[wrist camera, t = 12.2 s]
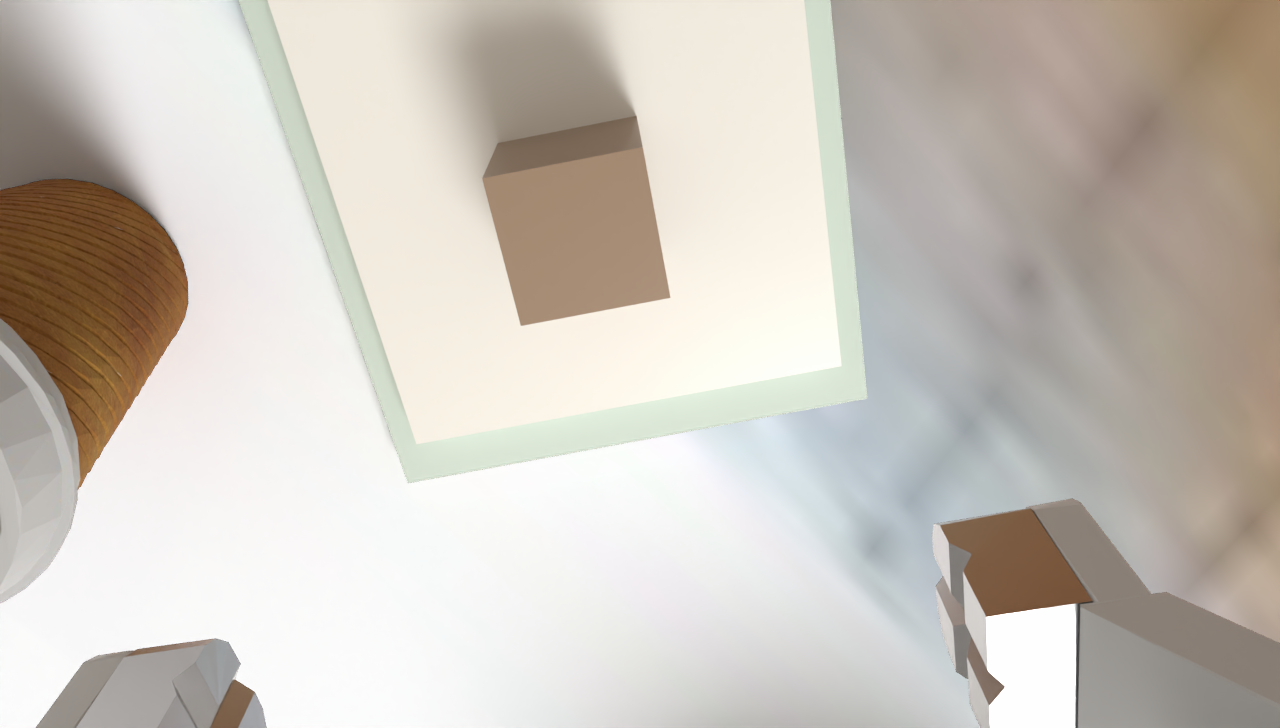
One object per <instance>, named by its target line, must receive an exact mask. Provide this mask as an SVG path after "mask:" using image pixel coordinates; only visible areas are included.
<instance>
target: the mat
mask: <svg viewBox="0 0 1280 728" xmlns="http://www.w3.org/2000/svg"><path fill="white" fill-rule="evenodd" d="M238 1H239V3H240V6H241V9H242V12H243V15H244V18H245V20H246V23H247V26H248V29H249V32H250V35H251V38H252V40H253V43H254V46H255V49H256V52H257V55H258V58H259V60H260V63H261V66H262V69H263V72H264V75H265V77H266V80H267V83H268V86H269V89H270V92H271V95H272V97H273V100H274V103H275V106H276V109H277V112H278V115H279V117H280V120H281V123H282V126H283V129H284V132H285V134H286V137H287V140H288V143H289V146H290V149H291V152H292V154H293V157H294V160H295V163H296V166H297V169H298V172H299V174H300V177H301V180H302V183H303V186H304V189H305V191H306V194H307V197H308V200H309V203H310V206H311V209H312V211H313V214H314V217H315V220H316V223H317V226H318V229H319V231H320V234H321V237H322V240H323V243H324V246H325V248H326V251H327V254H328V257H329V260H330V263H331V266H332V268H333V271H334V274H335V277H336V280H337V283H338V285H339V288H340V291H341V294H342V297H343V300H344V303H345V305H346V308H347V311H348V314H349V317H350V320H351V323H352V325H353V328H354V331H355V334H356V337H357V340H358V342H359V345H360V348H361V351H362V354H363V357H364V360H365V362H366V365H367V368H368V371H369V374H370V377H371V380H372V382H373V385H374V388H375V391H376V394H377V397H378V399H379V402H380V405H381V408H382V411H383V414H384V417H385V419H386V422H387V425H388V428H389V431H390V434H391V437H392V439H393V442H394V445H395V448H396V451H397V454H398V456H399V459H400V462H401V465H402V468H403V471H404V474H405V476H406V479H407V482H408V483H412V482H418V481H423V480H429V479H434V478H440V477H445V476H450V475H456V474H461V473H467V472H472V471H477V470H483V469H488V468H494V467H499V466H505V465H510V464H515V463H521V462H526V461H532V460H537V459H542V458H548V457H553V456H559V455H564V454H570V453H575V452H580V451H586V450H591V449H597V448H602V447H607V446H613V445H618V444H624V443H629V442H635V441H640V440H645V439H651V438H656V437H662V436H667V435H673V434H678V433H683V432H689V431H694V430H700V429H705V428H710V427H716V426H721V425H727V424H732V423H738V422H743V421H748V420H754V419H759V418H765V417H770V416H775V415H781V414H786V413H792V412H797V411H803V410H808V409H813V408H819V407H824V406H830V405H835V404H841V403H846V402H851V401H857V400H862V399H867V390H866V379H865V368H864V357H863V347H862V336H861V325H860V315H859V304H858V293H857V282H856V272H855V261H854V250H853V239H852V229H851V218H850V207H849V196H848V186H847V175H846V164H845V154H844V143H843V132H842V121H841V111H840V100H839V89H838V78H837V68H836V57H835V46H834V35H833V25H832V14H831V3H830V0H804V3H805V13H806V23H807V33H808V42H809V52H810V62H811V72H812V82H813V91H814V101H815V111H816V121H817V131H818V140H819V150H820V160H821V170H822V180H823V189H824V199H825V209H826V219H827V229H828V238H829V248H830V258H831V268H832V278H833V287H834V297H835V307H836V317H837V327H838V336H839V346H840V356H841V366H839V367H834V368H829V369H823V370H818V371H812V372H807V373H801V374H796V375H790V376H785V377H780V378H774V379H769V380H763V381H758V382H752V383H747V384H742V385H736V386H731V387H725V388H720V389H714V390H709V391H703V392H698V393H693V394H687V395H682V396H676V397H671V398H665V399H660V400H655V401H649V402H644V403H638V404H633V405H627V406H622V407H616V408H611V409H606V410H600V411H595V412H589V413H584V414H578V415H573V416H568V417H562V418H557V419H551V420H546V421H540V422H535V423H530V424H524V425H519V426H513V427H508V428H502V429H497V430H491V431H486V432H481V433H475V434H470V435H464V436H459V437H453V438H448V439H443V440H437V441H432V442H426V443H421V444H416V441H415V438H414V435H413V432H412V430H411V427H410V424H409V421H408V418H407V415H406V412H405V409H404V406H403V403H402V400H401V397H400V394H399V391H398V388H397V385H396V382H395V379H394V376H393V373H392V370H391V367H390V364H389V361H388V358H387V355H386V352H385V349H384V346H383V343H382V340H381V337H380V334H379V331H378V328H377V325H376V322H375V319H374V316H373V313H372V310H371V307H370V304H369V301H368V298H367V296H366V293H365V290H364V287H363V284H362V281H361V278H360V275H359V272H358V269H357V266H356V263H355V260H354V257H353V254H352V251H351V248H350V245H349V242H348V239H347V236H346V233H345V230H344V227H343V224H342V221H341V218H340V215H339V212H338V209H337V206H336V203H335V200H334V197H333V194H332V191H331V188H330V185H329V182H328V179H327V176H326V173H325V170H324V167H323V164H322V161H321V159H320V156H319V153H318V150H317V147H316V144H315V141H314V138H313V135H312V132H311V129H310V126H309V123H308V120H307V117H306V114H305V111H304V108H303V105H302V102H301V99H300V96H299V93H298V90H297V87H296V84H295V81H294V78H293V75H292V72H291V69H290V66H289V63H288V60H287V57H286V54H285V51H284V48H283V45H282V42H281V39H280V36H279V33H278V30H277V27H276V25H275V22H274V19H273V16H272V13H271V10H270V7H269V4H268V1H267V0H238Z"/></svg>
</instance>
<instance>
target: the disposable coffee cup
mask: <svg viewBox="0 0 1280 728" xmlns="http://www.w3.org/2000/svg"><path fill="white" fill-rule="evenodd" d="M187 306H188V281H187V277H186V273H185V269H184V265H183V262H182V260H181V257H180V255H179V253H178V250H177V248H176V247H175V245H174V244H173V242H172V241H171V239H170V238H169V236H168V235H167V233H166V232H165V230H164V229H163V228H162V227H161V226H160V225H159V224H158V223H157V222H156V221H155V220H154V218H153V217H152V216H151V215H149V214H148V213H147V212H146V211H144V210H143V209H142V208H141V207H139V206H138V205H137V204H136V203H134V202H133V201H131V200H129V199H127V198H126V197H124V196H122V195H120V194H119V193H117V192H115V191H113V190H110V189H108V188H105V187H102V186H99V185H97V184H94V183H89V182H83V181H77V180H71V179H51V180H42V181H37V182H32V183H29V184H26V185H22V186H18V187H13V188H8V189H3V190H0V603H2V602H4V601H6V600H8V599H9V598H11V597H13V596H14V595H16V594H17V593H19V592H21V591H22V590H24V589H25V588H27V587H28V586H29V585H30V584H31V583H32V582H33V581H34V580H35V579H36V578H37V577H38V576H40V575H41V574H42V573H43V572H44V571H45V570H46V569H47V568H48V566H49V565H50V564H51V562H52V561H53V559H54V558H55V556H56V555H57V553H58V551H59V550H60V548H61V546H62V544H63V542H64V540H65V538H66V536H67V534H68V533H69V531H70V529H71V525H72V521H73V517H74V513H75V508H76V504H77V490H78V489H79V487H81V485H82V483H83V481H84V479H85V477H86V475H87V473H89V472H90V471H91V469H92V467H93V465H94V463H95V461H96V459H97V458H99V457H100V455H101V452H102V450H103V448H104V447H105V446H106V444H107V443H108V441H109V440H110V438H111V436H112V435H113V433H114V432H115V430H116V428H117V427H118V425H119V424H120V422H121V421H122V419H123V417H124V415H125V414H126V412H127V410H128V409H129V408H130V407H131V405H132V403H133V401H134V399H135V397H136V396H138V394H139V392H140V390H141V388H142V386H144V384H145V382H146V380H147V378H148V377H149V376H150V375H151V373H152V371H153V369H154V367H155V366H156V365H157V364H158V362H159V360H160V358H161V356H162V355H163V354H164V352H165V350H166V348H167V346H169V344H170V342H171V341H172V339H173V338H174V337H175V336H176V334H177V332H178V330H179V328H180V326H181V324H182V322H183V320H184V318H185V315H186V310H187Z"/></svg>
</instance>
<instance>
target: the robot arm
mask: <svg viewBox="0 0 1280 728" xmlns="http://www.w3.org/2000/svg"><path fill="white" fill-rule="evenodd" d="M932 540H933V554H934V557H935V559H936V561H937V563H938V565H939V568H940V570H941V572H942V574H943V576H942V578H941V579H940V581H939V582H938V583H937V585H936V597H937V607H938V614H939V619H940V624H941V629H942V634H943V637H944V640H945V644H946V647H947V650H948V653H949V655H950V658H951V660H952V663H953V665H954V668H955V670H956V672H957V673H959V674H960V675H962V676H964V677H965V678H967V679H968V683H969V698H970V705H971V708H972V710H973V712H974V714H975V717H976V719H977V721H978V724H979V726H980V728H1280V643H1279V642H1276V641H1274V640H1272V639H1270V638H1267V637H1265V636H1263V635H1261V634H1259V633H1256V632H1254V631H1252V630H1250V629H1247V628H1245V627H1243V626H1241V625H1238V624H1236V623H1234V622H1232V621H1230V620H1227V619H1225V618H1223V617H1221V616H1218V615H1216V614H1214V613H1212V612H1210V611H1207V610H1205V609H1203V608H1201V607H1198V606H1196V605H1194V604H1192V603H1190V602H1187V601H1185V600H1183V599H1181V598H1178V597H1176V596H1174V595H1172V594H1170V593H1167V592H1162V593H1155V594H1151V593H1150V591H1149V590H1148V589H1147V588H1146V586H1145V585H1144V584H1143V582H1142V581H1141V580H1140V578H1139V577H1138V576H1137V575H1136V573H1135V572H1134V571H1133V569H1132V568H1131V567H1130V566H1129V564H1128V563H1127V562H1126V560H1125V559H1124V558H1123V556H1122V555H1121V554H1120V553H1119V551H1118V550H1117V549H1116V547H1115V546H1114V545H1113V544H1112V542H1111V541H1110V540H1109V538H1108V537H1107V536H1106V534H1105V533H1104V532H1103V531H1102V529H1101V528H1100V527H1099V525H1098V524H1097V523H1096V522H1095V520H1094V519H1093V518H1092V516H1091V515H1090V514H1089V512H1088V511H1087V510H1086V509H1085V507H1084V506H1083V505H1082V503H1081V502H1079V501H1077V500H1075V499H1073V498H1072V499H1066V500H1061V501H1056V502H1050V503H1045V504H1040V505H1034V506H1029V507H1026V509H1021V510H1014V511H1008V512H1002V513H996V514H990V515H984V516H978V517H972V518H966V519H960V520H954V521H948V522H942V523H936V524H934V525H933V533H932ZM240 664H241V663H240V662H239V660H238V658H237V656H236V655H235V653H234V651H233V649H232V648H231V646H230V644H229V642H226V641H223V640H219V639H209V640H201V641H194V642H187V643H179V644H172V645H165V646H157V647H150V648H143V649H137V650H135V651H124V652H118V653H111V654H104V655H98V656H96V657H94V658H92V659H90V660H88V661H86V662H84V663H83V664H82V665H81V667H80V668H79V669H78V671H77V672H76V674H75V675H74V676H73V678H72V679H71V680H70V682H69V683H68V684H67V686H66V687H65V689H64V690H63V691H62V693H61V694H60V695H59V697H58V698H57V699H56V701H55V702H54V704H53V705H52V706H51V708H50V709H49V710H48V712H47V713H46V714H45V716H44V717H43V719H42V720H41V721H40V723H39V724H38V725H37V727H36V728H267V727H266V723H265V718H264V713H263V708H262V706H261V704H260V702H259V700H258V698H257V696H256V693H255V692H254V691H252V690H251V689H249V688H247V687H246V686H244V685H243V684H241V683H240V682H238V681H236V680H235V678H236V675H237V672H238V670H239V667H240Z"/></svg>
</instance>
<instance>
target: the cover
mask: <svg viewBox="0 0 1280 728" xmlns="http://www.w3.org/2000/svg"><path fill="white" fill-rule="evenodd" d="M267 1H268V4H269V7H270V10H271V13H272V16H273V19H274V22H275V25H276V27H277V30H278V33H279V36H280V39H281V42H282V45H283V48H284V51H285V54H286V57H287V60H288V63H289V66H290V69H291V72H292V75H293V78H294V81H295V84H296V87H297V90H298V93H299V96H300V99H301V102H302V105H303V108H304V111H305V114H306V117H307V120H308V123H309V126H310V129H311V132H312V135H313V138H314V141H315V144H316V147H317V150H318V153H319V156H320V159H321V161H322V164H323V167H324V170H325V173H326V176H327V179H328V182H329V185H330V188H331V191H332V194H333V197H334V200H335V203H336V206H337V209H338V212H339V215H340V218H341V221H342V224H343V227H344V230H345V233H346V236H347V239H348V242H349V245H350V248H351V251H352V254H353V257H354V260H355V263H356V266H357V269H358V272H359V275H360V278H361V281H362V284H363V287H364V290H365V293H366V296H367V298H368V301H369V304H370V307H371V310H372V313H373V316H374V319H375V322H376V325H377V328H378V331H379V334H380V337H381V340H382V343H383V346H384V349H385V352H386V355H387V358H388V361H389V364H390V367H391V370H392V373H393V376H394V379H395V382H396V385H397V388H398V391H399V394H400V397H401V400H402V403H403V406H404V409H405V412H406V415H407V418H408V421H409V424H410V427H411V430H412V432H413V435H414V438H415V441H416V444H421V443H426V442H432V441H437V440H443V439H448V438H453V437H459V436H464V435H470V434H475V433H481V432H486V431H491V430H497V429H502V428H508V427H513V426H519V425H524V424H530V423H535V422H540V421H546V420H551V419H557V418H562V417H568V416H573V415H578V414H584V413H589V412H595V411H600V410H606V409H611V408H616V407H622V406H627V405H633V404H638V403H644V402H649V401H655V400H660V399H665V398H671V397H676V396H682V395H687V394H693V393H698V392H703V391H709V390H714V389H720V388H725V387H731V386H736V385H742V384H747V383H752V382H758V381H763V380H769V379H774V378H780V377H785V376H790V375H796V374H801V373H807V372H812V371H818V370H823V369H829V368H834V367H839V366H841V356H840V346H839V336H838V327H837V317H836V307H835V297H834V287H833V278H832V268H831V258H830V248H829V238H828V229H827V219H826V209H825V199H824V189H823V180H822V170H821V160H820V150H819V140H818V131H817V121H816V111H815V101H814V91H813V82H812V72H811V62H810V52H809V42H808V33H807V23H806V13H805V3H804V0H267Z"/></svg>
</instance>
